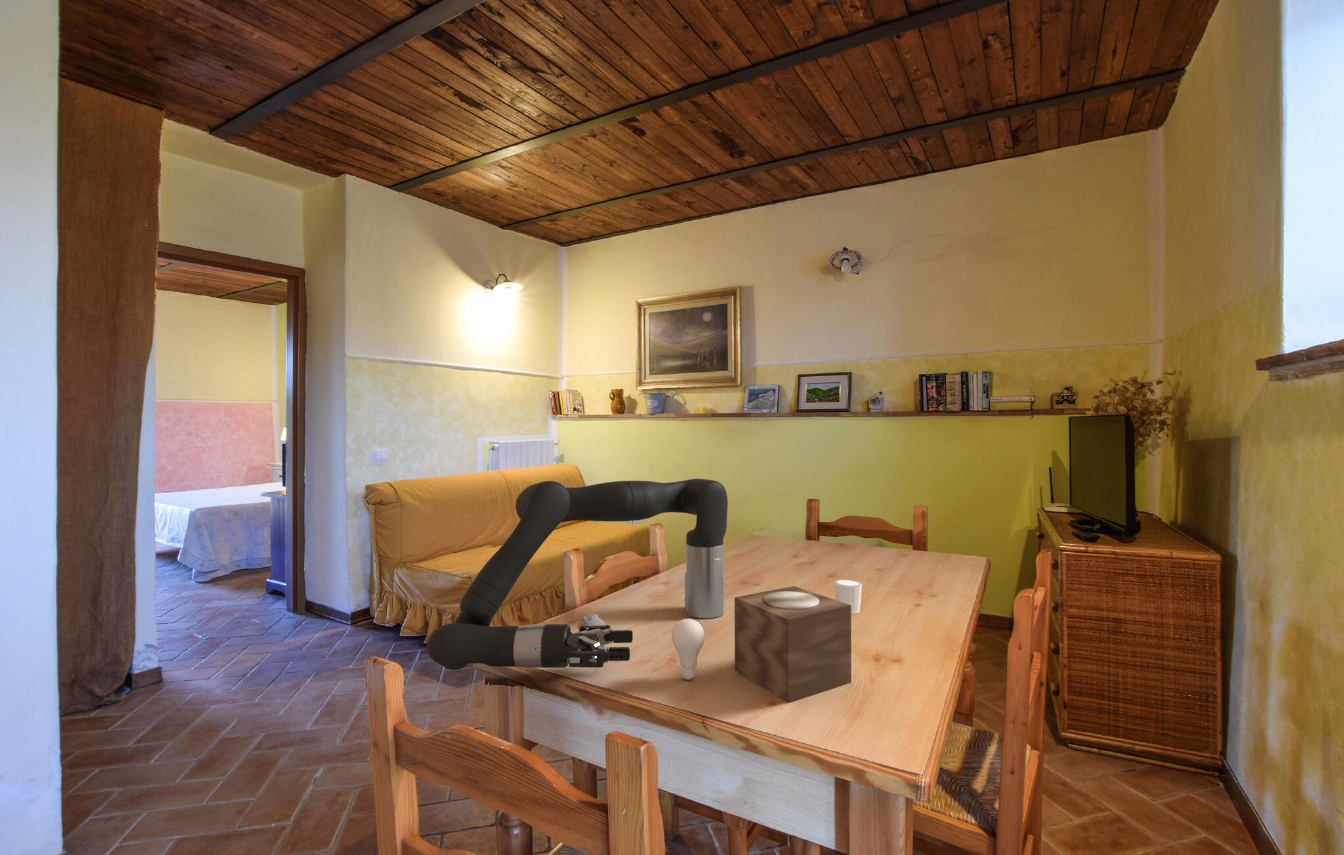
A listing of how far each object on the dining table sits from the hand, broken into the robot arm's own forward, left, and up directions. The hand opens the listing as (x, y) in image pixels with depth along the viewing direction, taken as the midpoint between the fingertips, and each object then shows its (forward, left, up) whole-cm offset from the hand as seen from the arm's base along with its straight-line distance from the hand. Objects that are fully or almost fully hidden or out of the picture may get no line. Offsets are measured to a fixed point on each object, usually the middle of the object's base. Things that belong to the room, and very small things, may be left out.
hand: (631, 644), depth 108 cm
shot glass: (-8, +65, -7) cm, 66 cm away
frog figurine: (-18, 0, -7) cm, 19 cm away
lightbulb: (+5, +9, -7) cm, 12 cm away
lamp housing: (+14, +26, -6) cm, 30 cm away
